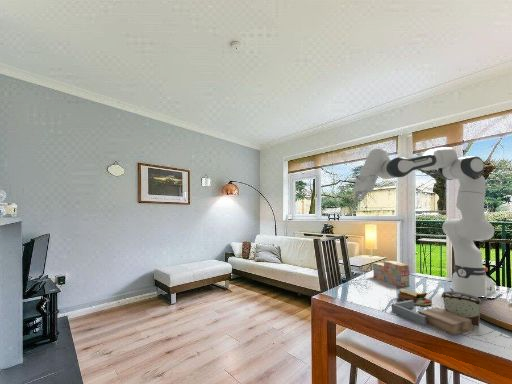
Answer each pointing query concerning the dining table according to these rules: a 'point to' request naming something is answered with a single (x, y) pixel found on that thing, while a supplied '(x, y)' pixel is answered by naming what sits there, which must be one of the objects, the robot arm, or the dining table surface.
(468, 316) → the food container
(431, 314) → the walnut slab
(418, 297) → the toy sandwich meal
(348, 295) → the dining table surface
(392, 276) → the stack of blocks
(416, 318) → the corner jig
